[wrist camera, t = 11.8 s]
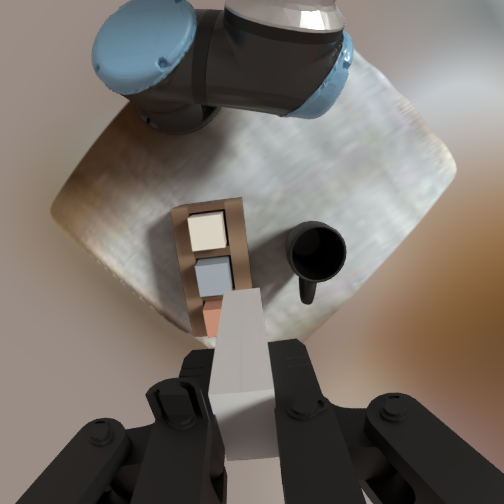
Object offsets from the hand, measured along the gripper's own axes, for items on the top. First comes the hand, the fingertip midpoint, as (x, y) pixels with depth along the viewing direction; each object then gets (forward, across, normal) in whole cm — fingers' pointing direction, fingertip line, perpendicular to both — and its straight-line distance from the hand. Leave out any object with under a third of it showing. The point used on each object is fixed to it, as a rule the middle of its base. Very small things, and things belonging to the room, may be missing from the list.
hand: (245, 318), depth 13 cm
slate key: (+34, -5, -7) cm, 35 cm away
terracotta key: (+34, -5, -14) cm, 37 cm away
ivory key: (+34, -5, 0) cm, 34 cm away
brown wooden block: (+36, -5, -7) cm, 37 cm away
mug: (+37, +9, -7) cm, 38 cm away
